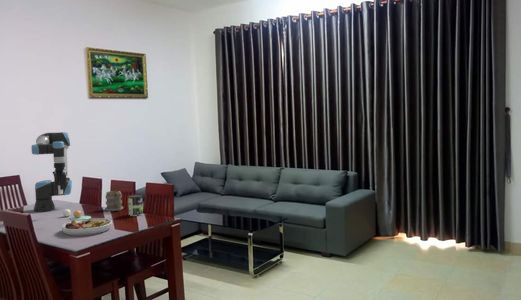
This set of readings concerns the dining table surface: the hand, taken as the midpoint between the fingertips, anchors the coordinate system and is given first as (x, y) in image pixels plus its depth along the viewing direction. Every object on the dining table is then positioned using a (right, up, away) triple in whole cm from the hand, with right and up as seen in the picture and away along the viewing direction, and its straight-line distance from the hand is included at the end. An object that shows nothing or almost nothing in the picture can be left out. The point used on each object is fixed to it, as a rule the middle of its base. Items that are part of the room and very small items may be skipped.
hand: (60, 194), depth 318 cm
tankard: (+34, -15, +20) cm, 42 cm away
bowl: (+37, -19, -43) cm, 60 cm away
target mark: (+18, -17, -8) cm, 26 cm away
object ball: (+15, -14, -7) cm, 22 cm away
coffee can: (+55, -16, +1) cm, 57 cm away
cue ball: (+5, -14, -2) cm, 15 cm away
